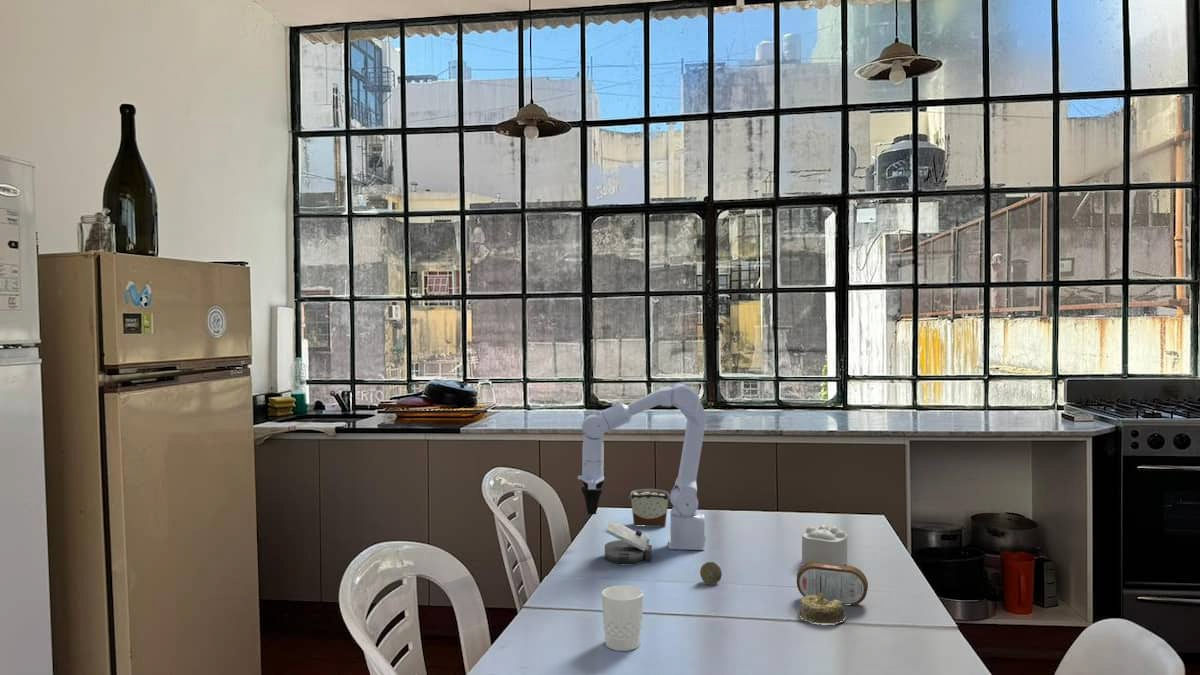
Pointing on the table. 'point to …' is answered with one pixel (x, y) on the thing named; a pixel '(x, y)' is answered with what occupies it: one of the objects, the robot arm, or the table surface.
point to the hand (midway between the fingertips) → (592, 510)
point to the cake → (821, 609)
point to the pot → (626, 553)
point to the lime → (710, 573)
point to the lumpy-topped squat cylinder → (824, 545)
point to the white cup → (622, 617)
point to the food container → (649, 507)
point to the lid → (628, 535)
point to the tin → (832, 582)
